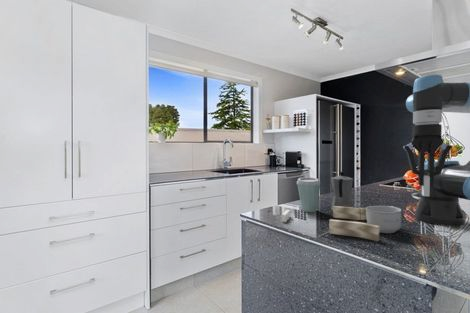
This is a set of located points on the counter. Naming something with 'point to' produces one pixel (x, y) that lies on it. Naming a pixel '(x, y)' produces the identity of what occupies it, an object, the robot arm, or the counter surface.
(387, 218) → the teacup
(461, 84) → the robot arm
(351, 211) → the channel
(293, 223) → the counter surface
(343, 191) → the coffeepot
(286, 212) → the bumper
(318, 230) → the counter surface
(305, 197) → the disposable coffee cup
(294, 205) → the counter surface
